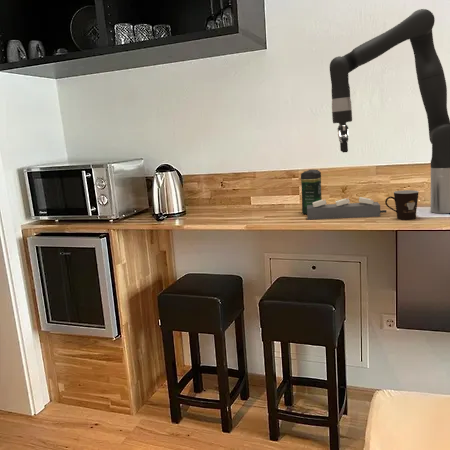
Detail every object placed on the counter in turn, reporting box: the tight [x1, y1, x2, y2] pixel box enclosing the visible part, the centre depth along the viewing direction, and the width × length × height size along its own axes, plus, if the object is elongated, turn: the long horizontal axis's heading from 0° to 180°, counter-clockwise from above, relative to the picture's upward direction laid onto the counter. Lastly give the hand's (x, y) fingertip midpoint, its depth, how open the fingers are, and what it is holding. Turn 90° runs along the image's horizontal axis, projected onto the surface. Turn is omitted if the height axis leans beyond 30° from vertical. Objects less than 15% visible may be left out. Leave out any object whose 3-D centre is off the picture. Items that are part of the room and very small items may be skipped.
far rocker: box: [313, 198, 327, 207], centre depth 193 cm, size 5×4×2 cm
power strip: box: [306, 201, 388, 221], centre depth 194 cm, size 31×8×5 cm, turn 80°
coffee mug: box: [385, 189, 420, 221], centre depth 180 cm, size 12×9×10 cm
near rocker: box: [358, 196, 375, 205], centre depth 190 cm, size 5×4×2 cm
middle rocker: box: [335, 197, 351, 206], centre depth 192 cm, size 5×4×2 cm
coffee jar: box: [300, 169, 323, 215], centre depth 205 cm, size 10×8×19 cm
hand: (344, 151), depth 192 cm, fingers open, 8 cm apart
